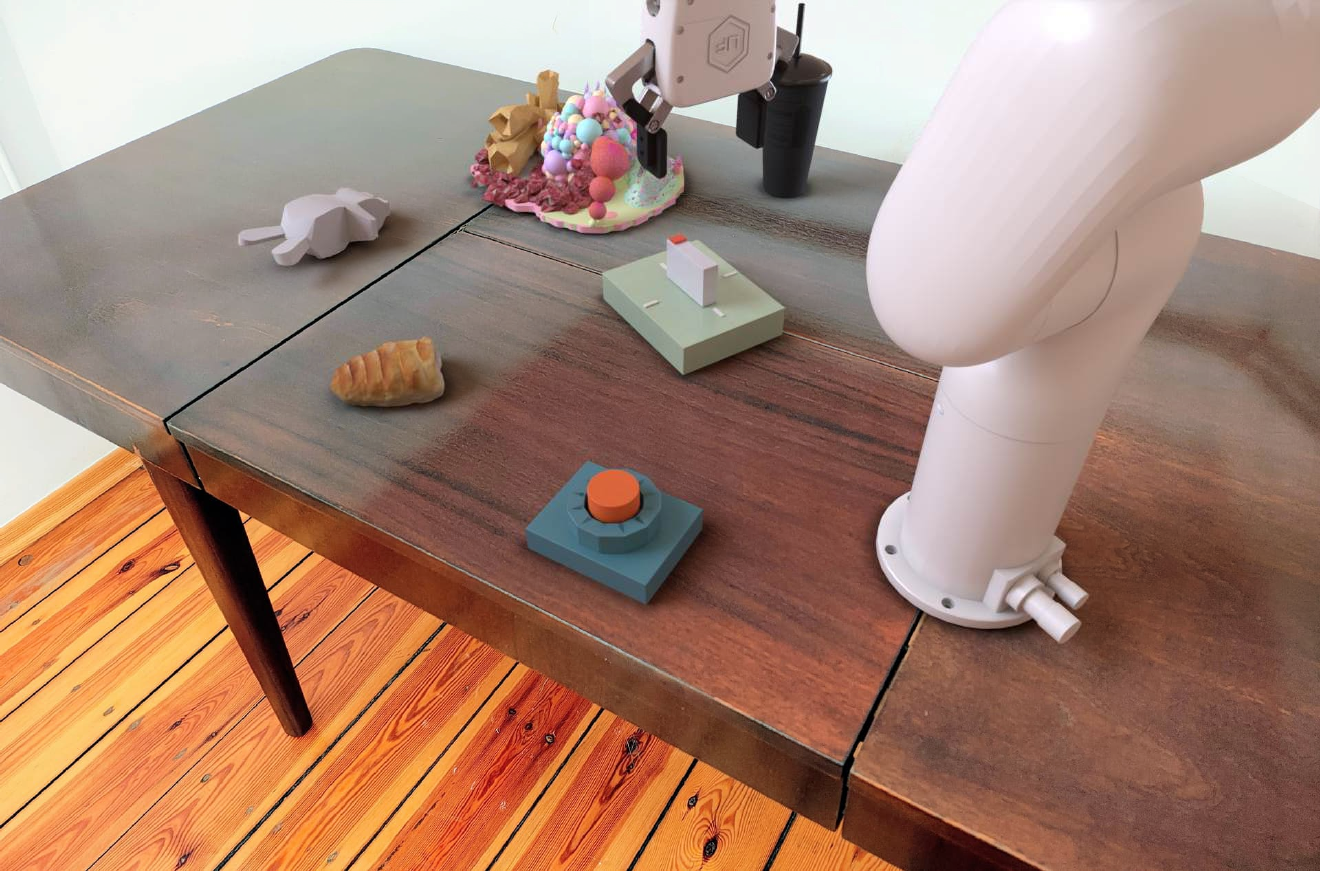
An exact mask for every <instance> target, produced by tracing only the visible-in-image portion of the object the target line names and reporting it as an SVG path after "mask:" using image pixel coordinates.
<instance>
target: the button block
mask: <svg viewBox="0 0 1320 871" xmlns="http://www.w3.org/2000/svg"><path fill="white" fill-rule="evenodd" d="M607 470H622V471H625V472H628V473H630V474H631V475H633V476H634V477H635V478H636V480H637V481H638V483H639V492H640V507H639V510H638V512H637V513H636V514H635V516H634V517H632V518H631V519H629V520H627V521H625V522H622V523H617V524H610V523H605V522H602V521H599V520H597V519H596V518H595V517H594V516H593V515H592V514H591V512H590V510H589V506H588V494H587V487H588V484H589V482H590V480H591V479H592V478H593V477H594V476H595V475H597V474H599V473H601V472H603V471H607ZM703 516H704V508H702V507H699V506H697V505H695V504H692V503H690V502H688V501H685V500H682V499H681V498H679V497H676V496H674V495H670V494H668V493H666V492H664V491H661V490H659V488H658V487H657V486H656V485H655V484H654V483H653V481H652V480H651V479H650V477H648V476H647V475H643V474H641V473H639V472H637V471H634V470H631V469H630V468H607V467H604V466H602V465H600V464H597V463H595V462H592V461H590V460H587V461H586V462H585V463H584V464H583V465H582V466H581V467H580V468H579V469H578V470H577V471H576V472H575V473H574V475H573V476H572V477H571V478H570V479H569V480H567V482H566V483H565V485H563V487H562V488H561V489H560V490H559V491H558V492H557V493H556V495H555V496H553V498H551V500H550V501H549V502H547V504H546V505H545V506H544V507H543V508H542V510H541V511H540V512H538V514H537V515H536V516H535V517H534V518H533V519H532V520H531V521H530V523H529V524H528V525H526V527H525V536H526V542H527V549H529V550H531V551H533V552H535V553H537V554H539V555H541V556H543V557H545V558H548V559H550V560H552V561H554V562H556V563H558V564H560V565H562V566H564V567H566V568H569V569H570V570H572V571H574V572H577V573H578V574H580V575H583V576H585V577H587V578H589V579H591V580H594V581H595V582H598V583H599V584H602V585H604V586H606V587H608V588H611V589H613V590H614V591H617V592H618V593H621V594H623V595H625V596H627V597H629V598H631V599H634V600H635V601H638V602H640V603H642V604H643V605H648V604H649V603H650V601H651V600H652V598H653V597H654V596H655V594H656V593H657V592H658V590H659V589H660V588H661V586H662V585H663V583H664V582H665V581H666V579H667V578H668V577H669V575H670V574H671V572H672V571H673V570H674V568H675V567H676V565H677V564H678V563H679V561H681V559H682V558H683V557H684V555H685V554H686V552H687V551H688V549H689V548H690V546H691V545H692V544H693V542H694V541H695V540H696V538H697V537H698V535H699V534H700V533H701V532H702V530H703V521H704V520H703V518H704V517H703Z"/></svg>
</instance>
